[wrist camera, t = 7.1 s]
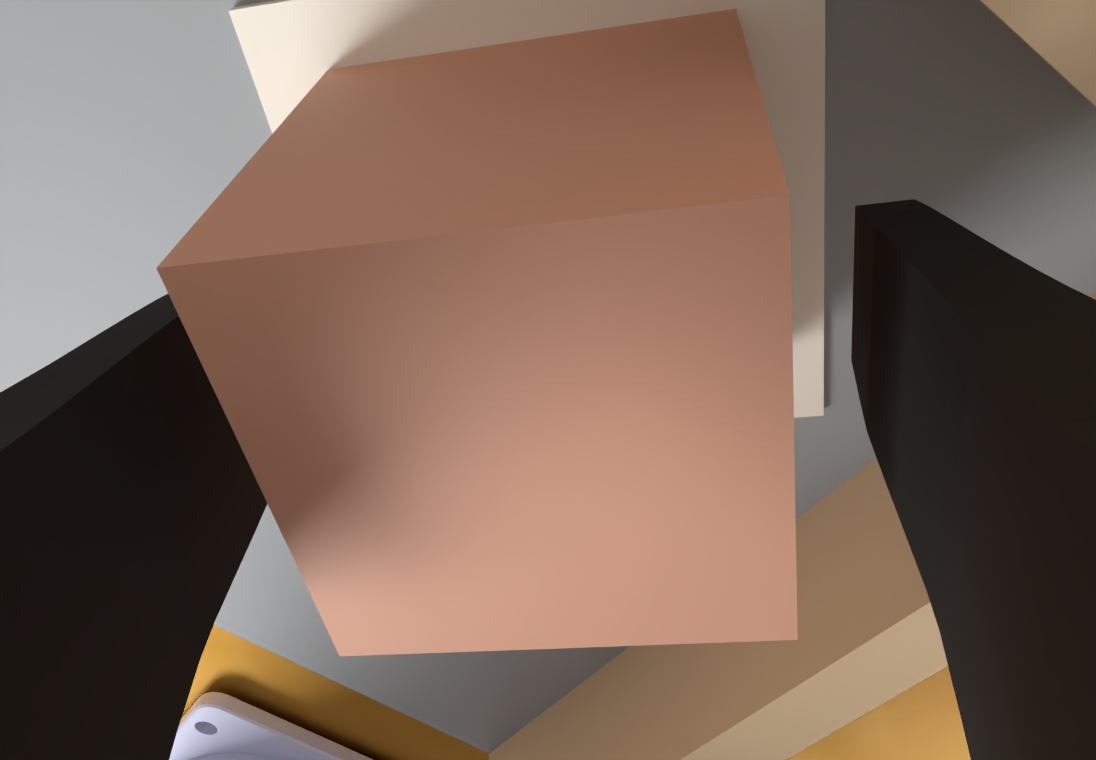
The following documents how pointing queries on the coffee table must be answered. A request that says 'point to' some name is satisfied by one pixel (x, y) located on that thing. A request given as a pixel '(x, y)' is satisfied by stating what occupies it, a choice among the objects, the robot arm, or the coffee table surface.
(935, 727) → the coffee table surface
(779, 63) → the pad
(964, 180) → the arena board
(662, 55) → the terracotta cube
